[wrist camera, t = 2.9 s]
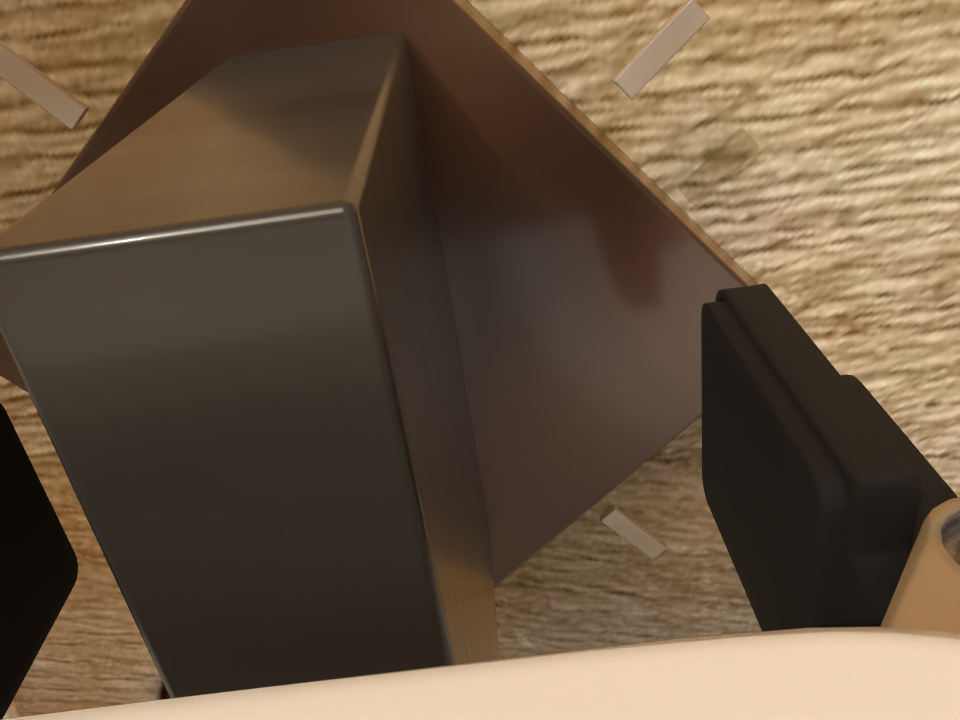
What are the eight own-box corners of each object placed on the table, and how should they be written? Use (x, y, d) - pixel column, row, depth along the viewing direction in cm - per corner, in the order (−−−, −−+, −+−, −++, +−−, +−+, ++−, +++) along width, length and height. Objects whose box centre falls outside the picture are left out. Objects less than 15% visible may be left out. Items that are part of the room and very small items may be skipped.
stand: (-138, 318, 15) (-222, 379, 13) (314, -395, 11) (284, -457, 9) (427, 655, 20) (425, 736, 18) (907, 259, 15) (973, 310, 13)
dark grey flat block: (225, 56, 11) (-64, 274, 5) (405, 29, 11) (351, 215, 5) (362, 564, 16) (305, 1028, 9) (492, 548, 15) (523, 1004, 9)
